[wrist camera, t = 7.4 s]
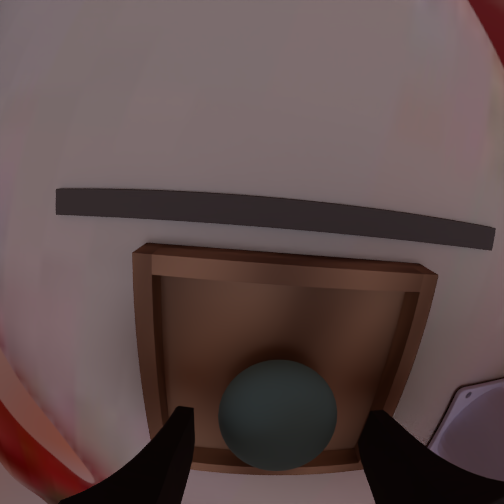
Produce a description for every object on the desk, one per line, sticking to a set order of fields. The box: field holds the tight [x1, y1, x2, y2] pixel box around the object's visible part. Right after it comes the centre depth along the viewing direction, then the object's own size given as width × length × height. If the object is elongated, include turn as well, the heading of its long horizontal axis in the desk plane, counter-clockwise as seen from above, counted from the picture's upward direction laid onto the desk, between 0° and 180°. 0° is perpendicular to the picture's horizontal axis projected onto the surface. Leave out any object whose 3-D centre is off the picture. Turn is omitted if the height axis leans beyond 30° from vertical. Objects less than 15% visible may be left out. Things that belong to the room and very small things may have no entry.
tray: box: [132, 243, 438, 475], centre depth 14 cm, size 13×13×2 cm
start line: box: [56, 189, 496, 251], centre depth 13 cm, size 22×1×1 cm, turn 85°
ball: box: [218, 360, 337, 471], centre depth 12 cm, size 5×5×5 cm
